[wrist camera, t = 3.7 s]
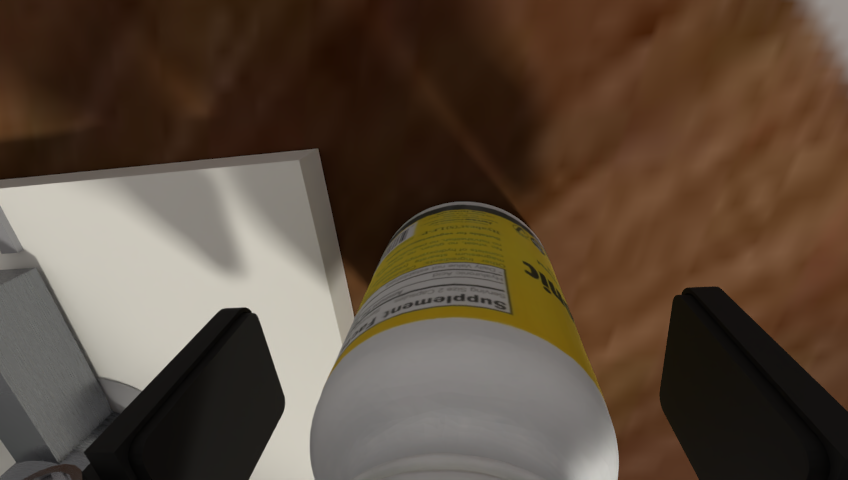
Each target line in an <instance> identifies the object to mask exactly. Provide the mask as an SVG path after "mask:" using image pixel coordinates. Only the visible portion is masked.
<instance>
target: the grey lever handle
mask: <svg viewBox="0 0 848 480" xmlns="http://www.w3.org/2000/svg"><path fill="white" fill-rule="evenodd" d="M119 415H120V413H117V412H114V411H113V410H112V408H111V407H110V405H109V403H108V401H107V399H106V397H105V395H104V393H103V392H102V390H101V388H100V386H99V384H98V382H97V380H96V379H95V377H94V375H93V373H92V371H91V369H90V367H89V365H88V364H87V362H86V360H85V358H84V356H83V354H82V352H81V351H80V349H79V347H78V345H77V343H76V341H75V339H74V337H73V336H72V334H71V332H70V330H69V328H68V326H67V324H66V323H65V321H64V319H63V317H62V315H61V313H60V311H59V309H58V308H57V306H56V304H55V302H54V300H53V298H52V296H51V295H50V293H49V291H48V289H47V287H46V285H45V283H44V281H43V280H42V278H41V276H40V274H39V272H38V270H37V268H23V269H7V270H0V440H1V441H2V443H3V444H4V446H5V447H6V448H7V450H8V451H9V453H10V454H11V456H12V457H13V458H14V460H15V461H16V463H15V464H14V465H13V466H11V467H10V468H9V469H8V470H7V471H6V472H5V473H4V474H2V475H1V476H0V480H23V479H24V478H26V477H28V476H30V475H32V474H34V473H36V472H38V471H41V470H43V469H46V468H48V467H51V466H56V465H61V464H71V465H76V466H77V467H78V468H79V469H81V471H83V470H84V469H85V468H86V467H87V466H88V465H89V464H90V462H89V460H88V459H87V457H86V455H85V454H84V451H85V450H86V449H87V448H88V447H89V446H90V445H91V444H92V443H93V442H94V441H95V440H96V439H97V438H98V437H99V435H100V434H101V433H102V432H103V431H104V430H105V429H106V428H107V427H108V426H109V425H110V424H111V423H112V422H113V421H114V420H115V419H116V418H117V417H118V416H119Z"/></svg>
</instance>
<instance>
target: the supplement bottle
mask: <svg viewBox="0 0 848 480" xmlns="http://www.w3.org/2000/svg"><path fill="white" fill-rule="evenodd" d="M310 460H311V467H312V471H313V476H314V479H315V480H617V479H618V468H619V458H618V447H617V440H616V435H615V431H614V427H613V424H612V421H611V418H610V415H609V412H608V409H607V406H606V403H605V400H604V397H603V395H602V392H601V390H600V387H599V385H598V382H597V379H596V377H595V374H594V372H593V369H592V367H591V365H590V362H589V360H588V357H587V355H586V352H585V350H584V347H583V344H582V342H581V339H580V336H579V334H578V331H577V329H576V326H575V323H574V320H573V318H572V315H571V313H570V311H569V308H568V305H567V303H566V301H565V298H564V296H563V293H562V291H561V289H560V286H559V284H558V281H557V279H556V276H555V273H554V271H553V268H552V265H551V263H550V260H549V258H548V256H547V254H546V252H545V250H544V248H543V246H542V244H541V242H540V241H539V239H538V238H537V236H536V235H535V234H534V232H533V231H532V230H531V229H530V228H529V227H528V226H527V225H526V224H525V223H523V222H522V221H521V220H520V219H518V218H517V217H515V216H514V215H512V214H511V213H509V212H507V211H505V210H503V209H500V208H498V207H495V206H492V205H488V204H484V203H477V202H450V203H445V204H441V205H437V206H434V207H431V208H428V209H426V210H424V211H422V212H420V213H418V214H417V215H415V216H414V217H412V218H411V219H409V220H408V221H407V222H406V223H405V224H403V225H402V226H401V228H400V229H399V230H398V231H397V232H396V233H395V235H394V236H393V237H392V239H391V240H390V242H389V244H388V245H387V247H386V249H385V251H384V253H383V255H382V257H381V259H380V262H379V264H378V266H377V268H376V271H375V273H374V275H373V277H372V280H371V282H370V284H369V287H368V289H367V291H366V293H365V296H364V298H363V300H362V302H361V304H360V307H359V309H358V311H357V314H356V316H355V318H354V321H353V323H352V325H351V327H350V330H349V332H348V334H347V336H346V339H345V341H344V343H343V345H342V348H341V350H340V352H339V354H338V357H337V359H336V361H335V364H334V366H333V368H332V370H331V372H330V374H329V376H328V379H327V381H326V383H325V385H324V387H323V390H322V393H321V396H320V399H319V401H318V403H317V406H316V409H315V412H314V416H313V420H312V425H311V430H310Z"/></svg>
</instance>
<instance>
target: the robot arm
mask: <svg viewBox="0 0 848 480" xmlns="http://www.w3.org/2000/svg"><path fill="white" fill-rule="evenodd" d="M660 402H661V406H662V409H663V411H664V413H665V415H666V417H667V419H668V421H669V423H670V425H671V427H672V429H673V431H674V432H675V434H676V436H677V438H678V440H679V442H680V444H681V446H682V448H683V450H684V452H685V453H686V455H687V457H688V459H689V461H690V463H691V465H692V467H693V469H694V471H695V472H696V474H697V476H698V478H699V480H848V412H847V411H846V410H845V409H844V408H843V407H842V406H841V405H840V404H839V403H838V402H837V401H836V400H835V399H834V398H833V397H832V396H831V395H830V394H829V393H828V392H827V391H826V390H825V389H824V388H823V387H822V386H821V385H820V384H819V383H818V382H817V381H816V380H815V379H813V378H812V377H811V376H810V375H809V374H808V373H807V372H806V371H805V370H804V369H803V368H802V367H801V366H800V365H799V364H798V363H797V362H796V361H795V360H794V359H793V358H792V357H791V356H790V355H789V354H788V353H787V352H786V351H785V350H784V349H783V348H782V347H780V346H779V345H778V344H777V343H776V342H775V341H774V340H773V339H772V338H771V337H770V336H769V335H768V334H767V333H766V332H765V331H764V330H763V329H762V328H761V327H760V326H759V325H758V324H757V323H756V322H755V321H754V320H753V319H752V318H751V317H750V316H749V315H748V314H746V313H745V312H744V311H743V310H742V309H741V308H740V307H739V306H738V305H737V304H736V303H735V302H734V301H733V300H732V299H731V298H730V297H729V296H728V295H727V294H726V293H725V292H724V291H723V290H722V289H720V288H719V287H693V288H686V289H684V290H683V292H682V295H676V296H675V297H674V299H673V304H672V311H671V318H670V324H669V331H668V338H667V345H666V352H665V359H664V366H663V373H662V380H661V387H660ZM284 409H285V396H284V393H283V390H282V387H281V384H280V381H279V378H278V375H277V372H276V369H275V366H274V363H273V360H272V357H271V354H270V351H269V348H268V345H267V342H266V339H265V336H264V333H263V330H262V327H261V324H260V321H259V318H258V316H257V315H256V314H255V313H252V312H251V310H250V309H249V308H246V307H241V308H224V309H221V310H220V311H218V312H217V313H216V315H215V316H214V317H213V318H212V319H211V320H210V321H209V322H208V323H207V324H206V325H205V326H204V327H203V328H202V329H201V330H200V331H199V332H198V333H197V334H196V335H195V336H194V337H193V339H192V340H191V341H190V342H189V343H188V344H187V345H186V346H185V347H184V348H183V349H182V350H181V351H180V352H179V353H178V354H177V355H176V356H175V357H174V358H173V359H172V360H171V361H170V362H169V364H168V365H167V366H166V367H165V368H164V369H163V370H162V371H161V372H160V373H159V374H158V375H157V376H156V377H155V378H154V379H153V380H152V381H151V382H150V383H149V384H148V385H147V386H146V388H145V389H144V390H143V391H142V392H141V393H140V394H139V395H138V396H137V397H136V398H135V399H134V400H133V401H132V402H131V403H130V404H129V405H128V406H127V407H126V408H125V409H124V410H123V412H122V413H121V414H120V415H119V416H118V417H117V418H116V419H115V420H114V421H113V422H112V423H111V424H110V425H109V426H108V427H107V428H106V429H105V430H104V431H103V432H102V433H101V434H100V435H99V437H98V438H97V439H96V440H95V441H94V442H93V443H92V444H91V445H90V446H89V447H88V448H87V449H86V450H85V451H84V454H85V455H86V457H87V459H88V460H89V462H90V464H89V465H88V466H87V467H86V468H85V469H84V470H83V471H81V469H79V468H78V467H77V466H76V465H71V464H61V465H56V466H51V467H48V468H46V469H43V470H41V471H38V472H36V473H34V474H32V475H30V476H28V477H26V478H24V479H23V480H249V478H250V476H251V474H252V473H253V471H254V469H255V467H256V465H257V463H258V461H259V459H260V457H261V455H262V453H263V451H264V449H265V447H266V445H267V443H268V442H269V440H270V438H271V436H272V434H273V432H274V430H275V428H276V426H277V424H278V422H279V420H280V418H281V416H282V414H283V412H284Z"/></svg>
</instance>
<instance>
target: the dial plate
mask: <svg viewBox="0 0 848 480" xmlns="http://www.w3.org/2000/svg"><path fill="white" fill-rule="evenodd" d="M23 268H37V270H38V272H39V274H40V276H41V278H42V280H43V281H44V283H45V285H46V287H47V289H48V291H49V293H50V295H51V296H52V298H53V300H54V302H55V304H56V306H57V308H58V309H59V311H60V313H61V315H62V317H63V319H64V321H65V323H66V324H67V326H68V328H69V330H70V332H71V334H72V336H73V337H74V339H75V341H76V343H77V345H78V347H79V349H80V351H81V352H82V354H83V356H84V358H85V360H86V362H87V364H88V365H89V367H90V369H91V371H92V373H93V375H94V377H95V379H96V380H97V382H98V384H99V386H100V388H101V390H102V392H103V393H104V395H105V397H106V399H107V401H108V403H109V405H110V407H111V408H112V410H113V411H114V412H117V413H120V414H121V413H122V412H123V410H124V409H125V408H126V407H127V406H128V405H129V404H130V403H131V402H132V401H133V400H134V399H135V398H136V397H137V396H138V395H139V394H140V393H141V392H142V391H143V390H144V389H145V388H146V386H147V385H148V384H149V383H150V382H151V381H152V380H153V379H154V378H155V377H156V376H157V375H158V374H159V373H160V372H161V371H162V370H163V369H164V368H165V367H166V366H167V365H168V364H169V362H170V361H171V360H172V359H173V358H174V357H175V356H176V355H177V354H178V353H179V352H180V351H181V350H182V349H183V348H184V347H185V346H186V345H187V344H188V343H189V342H190V341H191V340H192V339H193V337H194V336H195V335H196V334H197V333H198V332H199V331H200V330H201V329H202V328H203V327H204V326H205V325H206V324H207V323H208V322H209V321H210V320H211V319H212V318H213V317H214V316H215V315H216V313H217V312H218V311H220V310H221V309H224V308H241V307H246V308H249V309H250V310H251V312H252V313H255V314H256V315H257V316H258V318H259V321H260V324H261V327H262V330H263V333H264V336H265V339H266V342H267V345H268V348H269V351H270V354H271V357H272V360H273V363H274V366H275V369H276V372H277V375H278V378H279V381H280V384H281V387H282V390H283V393H284V396H285V409H284V412H283V414H282V416H281V418H280V420H279V422H278V424H277V426H276V428H275V430H274V432H273V434H272V436H271V438H270V440H269V442H268V443H267V445H266V447H265V449H264V451H263V453H262V455H261V457H260V459H259V461H258V463H257V465H256V467H255V469H254V471H253V473H252V474H251V476H250V478H249V480H315V479H314V476H313V471H312V467H311V460H310V430H311V425H312V420H313V416H314V412H315V409H316V406H317V403H318V401H319V399H320V396H321V393H322V390H323V387H324V385H325V383H326V381H327V379H328V376H329V374H330V372H331V370H332V368H333V366H334V364H335V361H336V359H337V357H338V354H339V352H340V350H341V348H342V345H343V343H344V341H345V339H346V336H347V334H348V332H349V330H350V327H351V325H352V323H353V321H354V314H353V309H352V304H351V300H350V295H349V290H348V286H347V281H346V276H345V272H344V267H343V262H342V258H341V253H340V248H339V243H338V239H337V234H336V229H335V225H334V220H333V215H332V211H331V206H330V201H329V197H328V192H327V187H326V183H325V178H324V173H323V169H322V164H321V159H320V155H319V150H318V149H308V150H298V151H288V152H277V153H267V154H257V155H247V156H237V157H227V158H217V159H207V160H197V161H186V162H176V163H166V164H156V165H146V166H136V167H126V168H116V169H105V170H95V171H85V172H75V173H65V174H55V175H45V176H35V177H25V178H14V179H4V180H0V270H7V269H23ZM15 463H16V461H15V460H14V458H13V457H12V456H11V454H10V453H9V451H8V450H7V448H6V447H5V446H4V444H3V443H2V441H1V440H0V476H1V475H2V474H4V473H5V472H6V471H7V470H8V469H9V468H10V467H11V466H13V465H14V464H15Z"/></svg>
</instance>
